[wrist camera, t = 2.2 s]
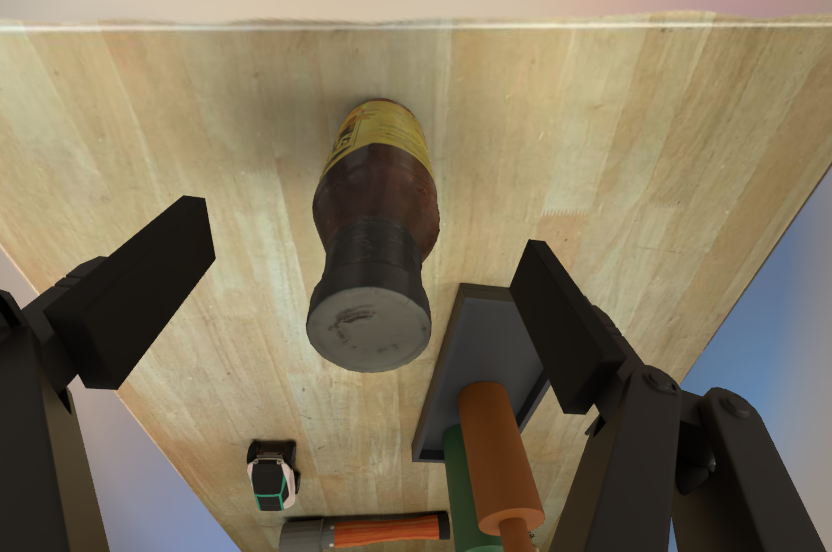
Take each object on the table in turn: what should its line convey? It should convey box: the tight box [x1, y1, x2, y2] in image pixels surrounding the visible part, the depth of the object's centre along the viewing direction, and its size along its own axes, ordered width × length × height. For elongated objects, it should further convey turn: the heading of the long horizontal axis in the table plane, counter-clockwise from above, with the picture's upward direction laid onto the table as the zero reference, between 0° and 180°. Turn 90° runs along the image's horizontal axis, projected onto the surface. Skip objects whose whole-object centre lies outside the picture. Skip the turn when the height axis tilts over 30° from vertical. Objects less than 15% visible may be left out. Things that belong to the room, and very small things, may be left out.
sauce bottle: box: [306, 98, 440, 373], centre depth 19 cm, size 7×6×20 cm
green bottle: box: [442, 424, 504, 552], centre depth 43 cm, size 6×6×18 cm
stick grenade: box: [279, 513, 450, 552], centre depth 64 cm, size 5×5×30 cm
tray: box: [412, 283, 592, 463], centre depth 44 cm, size 31×14×2 cm, turn 170°
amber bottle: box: [457, 381, 545, 552], centre depth 38 cm, size 6×6×18 cm
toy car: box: [247, 442, 300, 511], centre depth 51 cm, size 6×12×5 cm, turn 173°
